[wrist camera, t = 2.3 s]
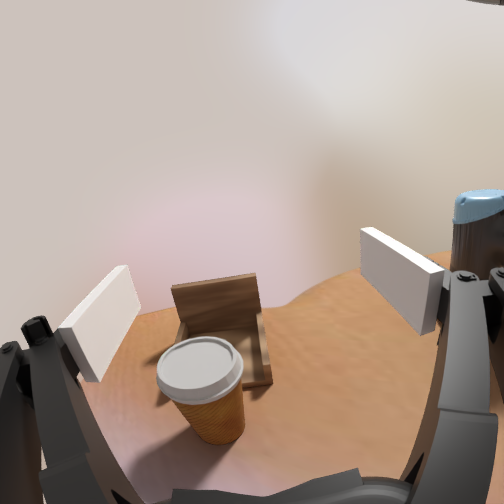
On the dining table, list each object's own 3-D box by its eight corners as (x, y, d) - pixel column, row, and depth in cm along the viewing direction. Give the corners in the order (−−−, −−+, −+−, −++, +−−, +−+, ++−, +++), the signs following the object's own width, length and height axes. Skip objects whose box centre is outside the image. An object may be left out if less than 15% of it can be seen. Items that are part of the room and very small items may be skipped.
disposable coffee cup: (254, 396, 35) (239, 328, 32) (261, 451, 26) (243, 387, 23) (188, 403, 35) (161, 338, 31) (182, 456, 26) (143, 394, 22)
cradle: (273, 383, 37) (263, 322, 34) (173, 393, 37) (149, 336, 34) (263, 325, 53) (255, 272, 49) (187, 335, 53) (172, 285, 49)
